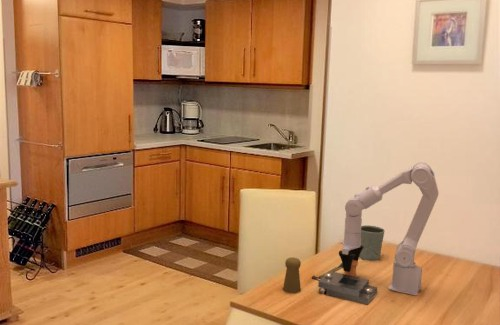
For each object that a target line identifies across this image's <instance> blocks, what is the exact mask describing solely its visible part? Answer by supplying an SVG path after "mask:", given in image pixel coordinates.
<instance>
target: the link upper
mask: <svg viewBox="0 0 500 325" xmlns="http://www.w3.org/2000/svg"><path fill="white" fill-rule="evenodd" d="M329 271H330V270H329ZM325 273H326V272H325ZM319 280H320V281H318V285H317V287H318V288H319V289H318V292H319V293H320V294H324V293H325V292H327V289H329V290H333V291H337V292H341V293H345V294H349V295H354V296H358V297H359V296H360V295H361V294H362V293H363V291H364V290H365V288H367V287H368V286H369V285H370V279H368V278H365V277H360V276H359V277H358V276H356V277H355V276H350V275H346V274H344V273H341V272H337V271H335V272H332V271H330V272H329V273H326V274H325V276H324V277H323V278H322V279H319ZM342 283H347V284H351V285H354V286H351V285H347V284H342Z"/></svg>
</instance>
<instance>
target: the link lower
mask: <svg viewBox="0 0 500 325" xmlns="http://www.w3.org/2000/svg"><path fill="white" fill-rule="evenodd" d="M342 284H347V283H342ZM347 285H351V284H347ZM351 286H354V285H351ZM325 292H326V295H327V296H330V297H334V298H337V299H343V300H345V301H349V302H354V303H359V304H362V305H369V303H371V301H372V300H373V299H374V298H375V296H376V295H377V294H378V286H374V285H370V284H369V286H368V287H367V288H365V290H364V291H363V293H362V294H361V295H360V296H359V297H358V296H354V295H349V294H345V293H341V292H337V291H333V290H329V289H327V290H326V291H325Z"/></svg>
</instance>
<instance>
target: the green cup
mask: <svg viewBox="0 0 500 325" xmlns="http://www.w3.org/2000/svg"><path fill="white" fill-rule="evenodd" d="M384 236H385V229H384V228H382V227H379V226H376V225H361V238H360V239H361V245H362V246H364V248H363V249H362V251H361V253H360V256H359V259H360V260H363V261H364V260H365V261H369V262H370V261H371V262H373V261H374V262H375V261H379V260H380V258H381V254H382V247H383V241H384Z"/></svg>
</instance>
